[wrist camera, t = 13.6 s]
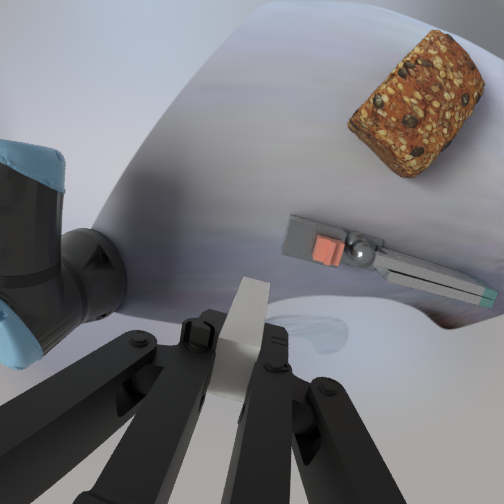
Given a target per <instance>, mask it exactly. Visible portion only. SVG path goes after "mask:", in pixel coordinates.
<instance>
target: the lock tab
mask: <svg viewBox="0 0 504 504" xmlns="http://www.w3.org/2000/svg"><path fill="white" fill-rule="evenodd" d="M344 246H345V244H344V243H343V242H342V241H341V240H337V239H333V238H330V237H326V236H322V235H318V236H317V240H316V243H315V247H314V250H313V254H312V257H313V260H316V261H320V262H324V264H325V265H330V264H332V265H336V266H339V262H340V259H341V256H342V253H343V249H344Z"/></svg>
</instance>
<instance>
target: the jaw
mask: <svg viewBox="0 0 504 504" xmlns="http://www.w3.org/2000/svg"><path fill="white" fill-rule="evenodd" d="M349 251H350V254H351V256H352V257H353V259H354V260H355V261H356V262H357V264H358V265H359V266H361V267H369V266H370V265H372V264H373V265H377V266H380V267H384V268H387V269H391V270H395V271H398V272H402V273H405V274H409V275H412V276H416V277H419V278H423V279H426V280H429V281H433V282H436V283H440V284H443V285H447V286H450V287H453V288H457V289H460V290H463V291H467V292H470V293H474V294H477V295H480V296H483V297H487V298H490V299H493V300H495V299H496V297H497V294H498V292H497V291H496V290H494V289H493V288H491V287H490V286H488V285H487V284H485V283H484V282H482V281H481V280H479V279H478V278H476V277H474V276H471V275H468V274H465V273H462V272H459V271H456V270H453V269H450V268H447V267H443V266H440V265H437V264H434V263H431V262H428V261H425V260H422V259H418V258H415V257H412V256H409V255H405V254H402V253H399V252H396V251H392V250H389V249H386V248H382V247H379V246H378V248H377V251H374V250H373V249H372V248H371V247H370V246H369V245H368V244H367V243H366V242H364V241H363V240H356V241H354V242H353V243H352V244H351V245H350V249H349Z"/></svg>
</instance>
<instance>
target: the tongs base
mask: <svg viewBox="0 0 504 504" xmlns="http://www.w3.org/2000/svg"><path fill="white" fill-rule="evenodd" d="M318 235H322V236H326V237H330V238H333V239H337V240H341V241H342V242H343V243H344V244H345V246H344V249H343V253H342V256H341V259H340V262H341V263H345V264H349V265H353V266H357V267H361V266H359V265H358V264H357V262H356V261H355V260H354V259H353V257H352V256H351V254H350V251H349V249H350V245H351V244H352V243H353V242H354V241H356V240H363V241H364V242H366V243H367V244H368V245H369V246H370V247H371V248H372V249H373V250H374V251H377V248H378V246H379V247H382V245H383V240H381V239H377V238H374V237H371V236H367V235H364V234H360V233H359V232H357V231H350V230H346V229H342V228H339V227H335V226H331V225H328V224H324V223H320V222H317V221H313V220H309V219H305V218H302V217H298V216H294V215H290V218H289V222H288V226H287V230H286V233H285V237H284V241H283V245H282V254H283V255H287V256H291V257H295V258H299V259H303V260H306V261H310V262H314V263H318V264H322V265H325V264H324V262H320V261H316V260H313V257H312V254H313V250H314V247H315V243H316V240H317V236H318ZM326 266H330V267H334V268H337V266H336V265H332V264H330V265H326ZM361 268H364V269H368V270H372V271H374V269H376V270H377V271H378V272H379V273H380V274H381V275H382V277H383V278H384V279H385V280H386V281H388V282H392V283H395V284H399V285H403V286H407V287H411V288H415V289H419V290H422V291H426V292H430V293H434V294H438V295H442V296H446V297H449V298H453V299H457V300H461V301H465V302H468V303H472V304H476V305H480V306H484V307H488V308H491V309H492V306H493V304H494V302H495V301H494V300H493V299H490V298H487V297H483V296H480V295H477V294H474V293H470V292H467V291H463V290H460V289H457V288H453V287H450V286H447V285H443V284H440V283H436V282H433V281H429V280H426V279H423V278H419V277H416V276H412V275H409V274H405V273H402V272H398V271H395V270H391V269H387V268H384V267H380V266H377V265H373V264H372V265H370V266H369V267H361Z"/></svg>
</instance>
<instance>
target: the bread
mask: <svg viewBox="0 0 504 504" xmlns="http://www.w3.org/2000/svg"><path fill="white" fill-rule="evenodd" d="M484 86H485V83H484V81H483V79H482V77H481V75H480V73H479V71H478V69H477V67H476V66H475V64H474V62H473V61H472V60H471V59H470V55H469V54H468V53H467V52H466V51H465V50H464V49H463V48H462V47H461V46H460V45H459V44H458V43H457V42H456V41H455V40H454V39H453V38H452V37H451V36H450V35H448V34H444V33H442V32H441V31H439V30H431V31H430V32H429V33H428V34H427V35H426V36H425V38H424V39H423V40H422V41H421V42H420V43H419V44H418V45H417V46H416V47H414V48H413V50H412V51H411V52H409V53H408V54H407V55H406V56H405V57H404V59H403V60H402V61H401V62H399V63H398V64H397V67H396V68H395V69H393V70H392V72H391V73H390V75H389V76H388V77H387V78H386V79H385V80H384V82H383V83H382V84H381V85H380V86H379V87H378V88H377V89H376V90H375V91H374V92H373V93H372V94H371V96H370V97H369V98H368V99H367V100H366V101H365V102H364V104H362V105H361V107H360V108H359V109H357V110H356V112H355V113H354V114H353V116H352V117H351V118H350V119H349V121H348V122H347V125H348V128H349V129H350V130H351V131H352V132H353V133H355V134H356V135H357V136H358V138H359V139H360V140H361V141H363V142H364V143H365V144H366V145H367V146H368V147H369V148H370V149H371V150H372V151H373V152H374V153H375V154H376V155H377V156H378V157H379V158H380V159H381V160H382V161H383V162H384V163H385V164H386V165H387V166H388V167H389V168H390V169H391V170H392V171H393V172H394V173H396V174H397V175H399V176H400V177H403V178H405V177H407V178H414V177H415V176H417V175H418V174H420V173H421V172H422V171H423V170H425V169H426V168H428V167H429V166H430V165H431V162H433V161H434V160H435V159H437V157H438V156H439V154H440V152H442V151H443V150H444V149H446V148H447V147H448V146H449V145H450V143H451V142H452V139H454V137H456V136H457V133H458V132H459V130H460V128H461V127H462V126H463V123H464V121H466V119H467V118H468V117H470V116H472V114H473V109H474V106H475V104H476V103H478V101H479V98H481V96H482V94H483V91H484V88H483V87H484Z"/></svg>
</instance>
